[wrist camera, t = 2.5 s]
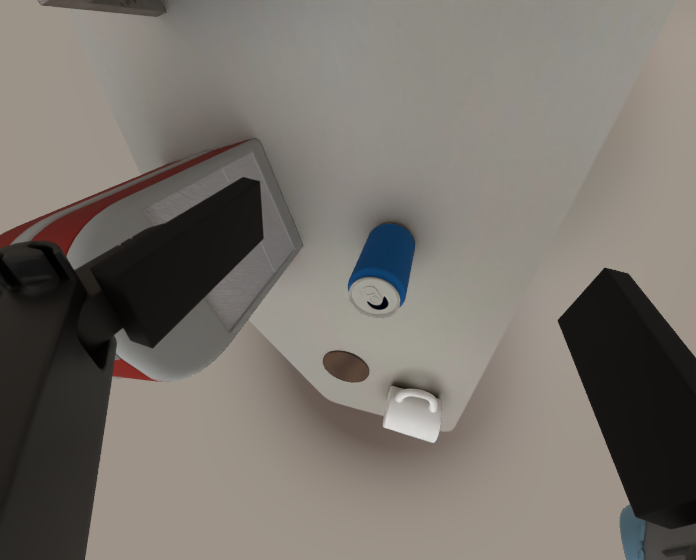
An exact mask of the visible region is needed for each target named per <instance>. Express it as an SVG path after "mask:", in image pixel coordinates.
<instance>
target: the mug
mask: <svg viewBox="0 0 696 560" xmlns="http://www.w3.org/2000/svg"><path fill="white" fill-rule="evenodd" d="M441 419H442V403H441V400H440V399H437V398H435V397H434V396H433V395H432V394H430V393H429V392H426V391H423V390H419V389H402V388H398V387H395V386H391V388H390V391H389V395H388V399H387V404H386V408H385V414H384V419H383V427H384V428H387V429H391V430H394V431H397V432H400V433H403V434H406V435H410V436H413V437H416V438H419V439H423V440H426V441H429V442H433V443H434V442H435V441H436V439H437V437H438V434H439V430H440V426H441Z"/></svg>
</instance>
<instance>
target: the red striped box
mask: <svg viewBox="0 0 696 560" xmlns="http://www.w3.org/2000/svg"><path fill="white" fill-rule="evenodd" d="M242 177H246V178H250V179H254V180H258V181H260V187H261V203H262V218H263V233H264V239H263V240H262V241H261V242H260V243H259V244H258V245H257V246H256V247H255V248H254V249H253V250H252V251H251V252H250V253H249V254H248V255H247V256H246V257H245V258H244V259H243V260H242V261H241V262H240V263H239V264H238V265H237V266H236V267H235V268H234V269H233V270H232V271H231V272H230V273H229V274H228V275H227V276H226V277H225V278H224V279H223V280H222V281H221V282H220V283H219V284H218V285H217V286H216V287H215V288H214V289H213V290H212V291H211V292H210V293H209V294H208V295H207V296H205V297H204V298H203V299H202V300H201V301H200V302H199V303H198V304H197V305H196V306H195V307H194V308H193V309H192V310H191V311H190V312H189V313H188V314H187V315H186V316H185V317H184V318H183V319H182V320H181V321H180V322H179V323H178V324H177V325H176V326H175V327H174V328H173V329H172V330H171V331H170V332H169V333H168V334H167V335H166V336H165V337H164V338H163V339H162V340H161V341H160V342H159V343H158V344H157V345H156V346H155V347H154V348H153V349H152V348H149V347H147V346H144V345H141V344H138V343H135V342H132V341H130V339H129V337H128V336H127V334H126V332H125V330H124V329H123V328H122V329H121V330H120V331H119V332H118V333H116V334H115V335H114V336H115V338H116V341H117V348H116V355H115V361H114V368H113V375H112V379H119V378H133V379H141V380H150V381H160V382H171V381H177V380H181V379H184V378H187V377H190V376H192V375H194V374H196V373H198V372H199V371H201V370H202V369H204V368H205V367H207V366H208V365H209V364H210V363H212V362H213V361H214V360H215V359H216V358H217V357H218V356H219V355H220V354H221V353H222V352H223V351H224V350H225V349H226V348H227V347H228V345H229V344H230V343H231V342H232V340H233V339H234V338H235V336H236V335H237V334H238V332H239V331H240V330H241V328H242V327H243V326H244V324H245V323H246V321H247V320H248V319H249V318H250V316H251V315H252V314H253V312H254V311H255V310H256V308H257V307H258V306H259V304H260V303H261V302H262V300H263V299H264V298H265V296H266V295H267V294H268V292H269V291H270V290H271V288H272V287H273V286H274V284H275V283H276V282H277V280H278V279H279V278H280V276H281V275H282V274H283V272H284V271H285V269H286V268H287V267H288V265H289V264H290V263H291V261H292V260H293V259H294V257H295V256H296V255H297V253H298V252H299V251H300V249H301V248H302V247H303V244H302V241H301V239H300V236H299V234H298V232H297V229H296V227H295V224H294V222H293V220H292V217H291V215H290V212H289V210H288V207H287V205H286V203H285V200H284V198H283V195H282V193H281V191H280V188H279V186H278V183H277V181H276V179H275V176H274V174H273V171H272V169H271V166H270V164H269V162H268V159H267V157H266V154H265V152H264V150H263V147H262V145H261V143H260V141H259V140H258V139H256V138H253V139H249V140H246V141H243V142H239V143H236V144H233V145H229V146H226V147H223V148H219V149H216V150H212V149H210V150H207V151H204V152H201V153H198V154H196V155H193V156H191V157H188V158H186V159H183V160H180V161H177V162H173V163H170V164H167V165H164V166H162V167H160V168H157V169H155V170H152V171H150V172H148V173H145V174H143V175H140V176H138V177H136V178H133V179H131V180H128V181H126V182H124V183H121V184H119V185H116V186H114V187H112V188H109V189H107V190H104V191H102V192H99V193H97V194H95V195H92V196H90V197H87V198H85V199H83V200H80V201H78V202H75V203H73V204H71V205H68V206H66V207H63V208H61V209H58V210H56V211H53V212H51V213H49V214H46V215H44V216H41V217H39V218H37V219H34V220H32V221H29V222H27V223H24V224H22V225H20V226H17V227H15V228H13V229H11V230H9V231H7V232H5V233H3V234H1V235H0V248H2V247H6V246H9V245H12V244H15V243H20V242H26V241H49V242H54V243H56V244H57V245H58V246H60V247H61V249H62V251H63V252H64V254H65V256H66V257H67V259H68V261H69V262H70V264H71V265H72V267H73V269H74V270H75V269H77V268H79V267H80V266H82V265H84V264H86V263H87V262H89V261H91V260H93V259H94V258H96V257H98V256H99V255H101V254H103V253H105V252H106V251H108V250H110V249H112V248H113V247H115V246H117V245H121V243H122V242H124V241H125V240H127V239H129V238H130V239H132V236H134V235H136V234H138V233H139V232H141V231H143V230H145V229H146V228H150V227H153V226H156V225H159V224H162V223H166V222H168V221H170V220H171V219H173V218H175V217H176V216H178V215H180V214H181V213H183V212H185V211H186V210H188V209H190V208H191V207H193V206H195V205H196V204H198V203H200V202H202V201H203V200H205V199H207V198H208V197H210V196H212V195H213V194H215V193H217V192H218V191H220V190H222V189H223V188H225V187H227V186H228V185H230V184H232V183H233V182H235V181H237V180H238V179H240V178H242Z"/></svg>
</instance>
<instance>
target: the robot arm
mask: <svg viewBox="0 0 696 560" xmlns="http://www.w3.org/2000/svg"><path fill="white" fill-rule="evenodd" d="M263 239H264V233H263V218H262V203H261V187H260V181H258V180H254V179H250V178H246V177H242V178H240V179H238V180H237V181H235V182H233V183H232V184H230V185H228V186H227V187H225V188H223V189H222V190H220V191H218V192H217V193H215V194H213V195H212V196H210V197H208V198H207V199H205V200H203V201H202V202H200V203H198V204H196V205H195V206H193V207H191V208H190V209H188V210H186V211H185V212H183V213H181V214H180V215H178V216H176V217H175V218H173V219H171V220H170V221H168V222H166V223H162V224H159V225H156V226H153V227H150V228H146V229H145V230H143V231H141V232H139V233H138V234H136V235H134V236H132V239H130V238H129V239H127V240H125V241H124V242H122V243H121V245H117V246H115V247H113V248H112V249H110V250H108V251H106V252H105V253H103V254H101V255H99V256H98V257H96V258H94V259H93V260H91V261H89V262H87V263H86V264H84V265H82V266H80V267H79V268H77V269H75V270H74V269H73V267H72V265H71V264H70V262H69V261H68V259H67V257H66V256H65V254H64V252H63V251H62V249H61V247H60V246H58V245H57V244H56V243H54V242H49V241H26V242H20V243H15V244H12V245H9V246H6V247H2V248H0V560H85V555H86V548H87V542H88V535H89V528H90V522H91V515H92V508H93V502H94V494H95V488H96V482H97V475H98V468H99V462H100V455H101V448H102V441H103V435H104V428H105V422H106V415H107V408H108V401H109V395H110V388H111V381H112V375H113V368H114V361H115V355H116V348H117V341H116V338H115V336H114V335H115V334H116V333H118V332H119V331H120V330H121V329H122V328H123V329H124V330H125V332H126V334H127V336H128V337H129V339H130V341H132V342H135V343H138V344H141V345H144V346H147V347H149V348H152V349H153V348H154V347H155V346H156V345H157V344H158V343H159V342H160V341H161V340H162V339H163V338H164V337H165V336H166V335H167V334H168V333H169V332H170V331H171V330H172V329H173V328H174V327H175V326H176V325H177V324H178V323H179V322H180V321H181V320H182V319H183V318H184V317H185V316H186V315H187V314H188V313H189V312H190V311H191V310H192V309H193V308H194V307H195V306H196V305H197V304H198V303H199V302H200V301H201V300H202V299H203V298H204V297H205V296H207V295H208V294H209V293H210V292H211V291H212V290H213V289H214V288H215V287H216V286H217V285H218V284H219V283H220V282H221V281H222V280H223V279H224V278H225V277H226V276H227V275H228V274H229V273H230V272H231V271H232V270H233V269H234V268H235V267H236V266H237V265H238V264H239V263H240V262H241V261H242V260H243V259H244V258H245V257H246V256H247V255H248V254H249V253H250V252H251V251H252V250H253V249H254V248H255V247H256V246H257V245H258V244H259V243H260V242H261V241H262V240H263ZM558 323H559V325H560V328H561V330H562V333H563V335H564V338H565V340H566V343H567V345H568V348H569V350H570V352H571V355H572V358H573V361H574V363H575V366H576V368H577V371H578V373H579V376H580V378H581V381H582V383H583V386H584V388H585V391H586V393H587V395H588V399H589V401H590V404H591V406H592V408H593V411H594V414H595V416H596V419H597V421H598V424H599V426H600V429H601V431H602V434H603V436H604V439H605V441H606V444H607V447H608V449H609V451H610V454H611V457H612V459H613V462H614V464H615V467H616V469H617V472H618V474H619V477H620V479H621V482H622V485H623V487H624V490H625V492H626V495H627V497H628V500H629V502H630V505H628V506H626V507H625V508H624V509H623V510H622V512H621V515H620V532H621V539H622V544H623V548H624V553H625V556H626V560H696V358H695V356H694V355H693V354H692V353H691V351H690V350H689V349H688V348H687V346H686V345H685V344H684V343H683V341H682V340H681V339H680V338H679V336H678V335H677V334H676V333H675V331H674V330H673V329H672V328H671V326H670V325H669V324H668V323H667V321H666V320H665V319H664V318H663V316H662V315H661V314H660V313H659V311H658V310H657V309H656V308H655V306H654V305H653V304H652V303H651V301H650V300H649V299H648V298H647V296H646V295H645V294H644V293H643V291H642V290H641V289H640V288H639V286H638V285H637V284H636V282H635V281H634V280H633V279H632V278H631V276H630V275H629V274H628V273H624V272H620V271H616V270H612V269H608V268H604V269H603V270H602V271H601V272H600V274H599V275H598V276H597V277H596V278H595V279H594V280H593V281H592V282H591V284H590V285H589V286H588V287H587V288H586V289H585V290H584V292H583V293H582V294H581V295H580V296H579V297H578V298H577V299H576V301H575V302H574V303H573V304H572V305H571V306H570V307H569V308H568V309H567V310H566V312H565V313H564V314H563V315H562V316H561V317H560V318H559V319H558Z"/></svg>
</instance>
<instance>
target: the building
mask: <svg viewBox="0 0 696 560" xmlns="http://www.w3.org/2000/svg"><path fill="white" fill-rule="evenodd" d="M38 2H39V3H40V5H43V6H53V7H63V8H73V9H83V10H93V11H104V12H114V13H124V14H134V15H144V16H154V17H157V16H159V15H162V14H164V13H166V10H165V8H164V6H163V3H162V1H161V0H38Z"/></svg>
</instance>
